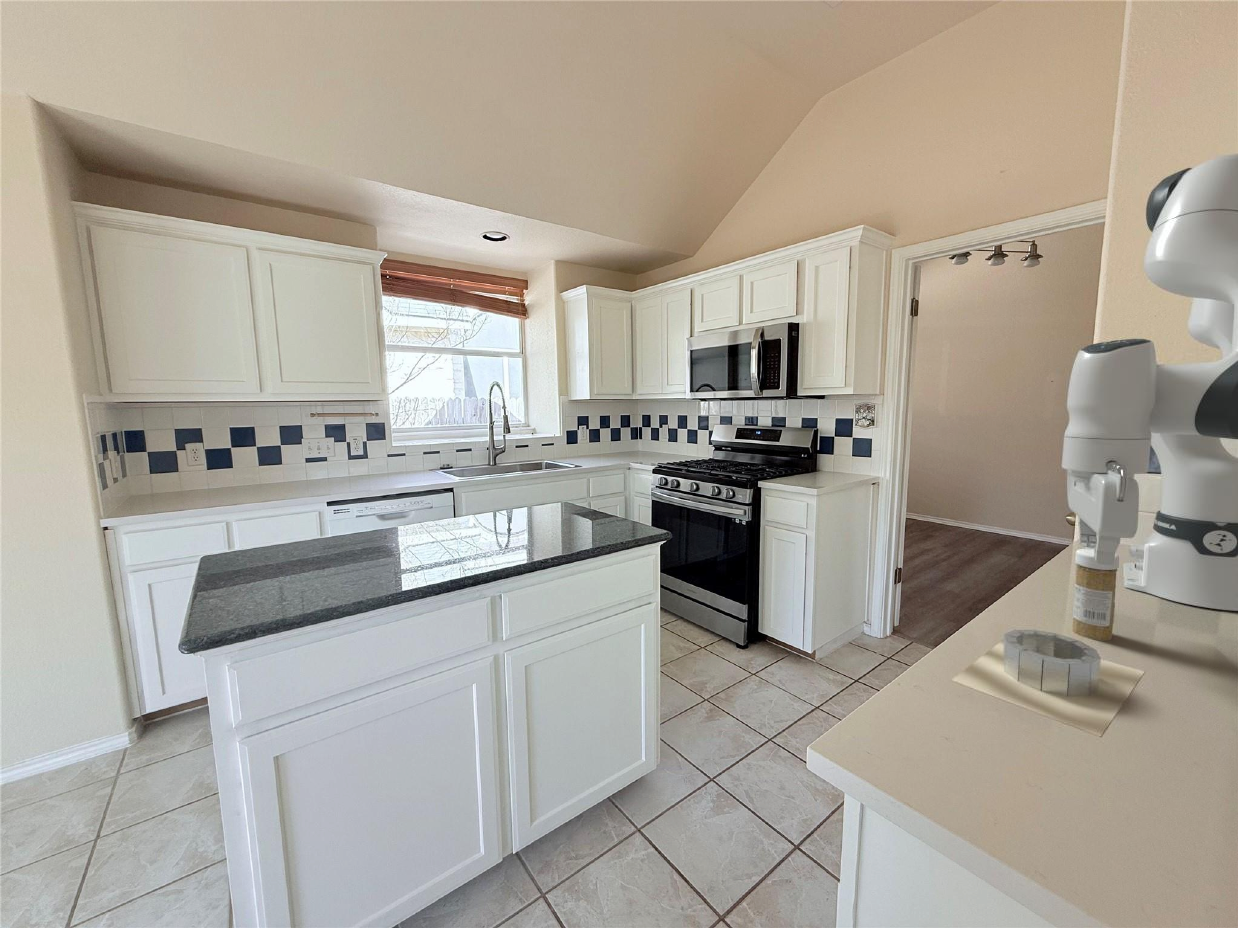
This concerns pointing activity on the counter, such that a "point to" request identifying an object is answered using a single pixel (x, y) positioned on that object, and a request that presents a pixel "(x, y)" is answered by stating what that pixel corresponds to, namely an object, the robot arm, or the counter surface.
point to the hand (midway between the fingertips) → (1094, 554)
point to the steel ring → (1051, 662)
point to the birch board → (1070, 710)
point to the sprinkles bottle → (1094, 596)
